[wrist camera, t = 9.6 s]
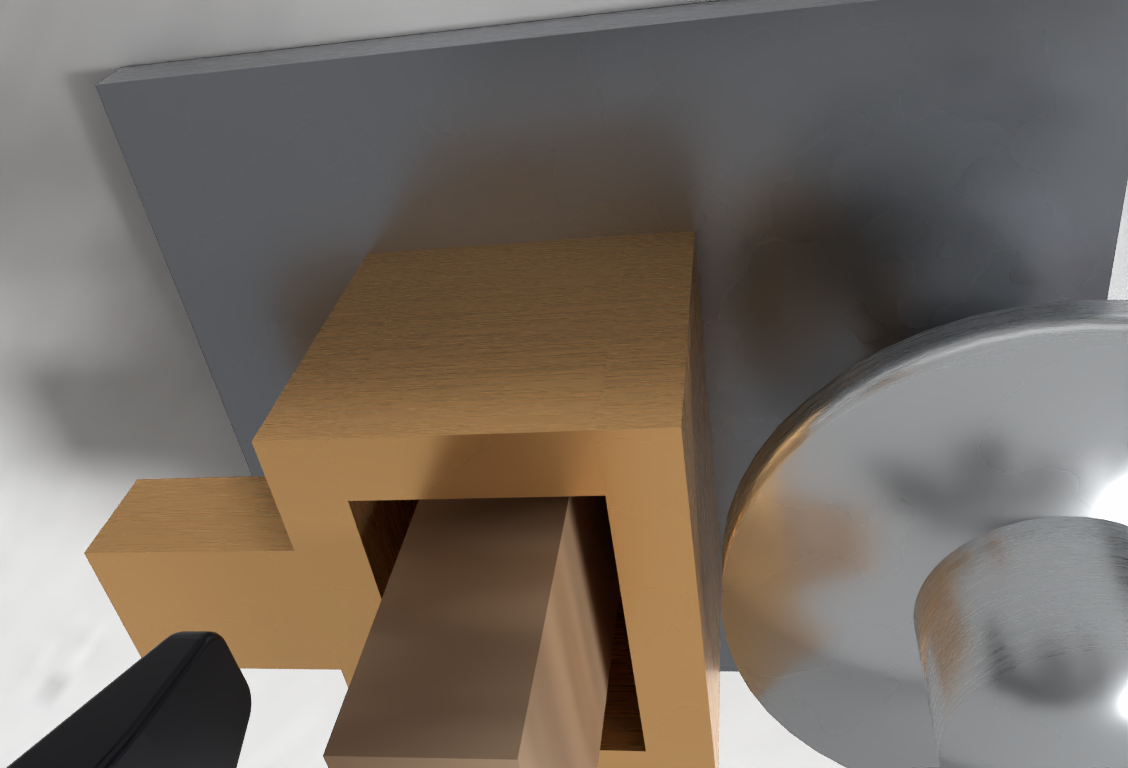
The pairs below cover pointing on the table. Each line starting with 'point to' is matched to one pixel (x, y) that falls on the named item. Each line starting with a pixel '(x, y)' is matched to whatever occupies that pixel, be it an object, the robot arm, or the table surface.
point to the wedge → (488, 640)
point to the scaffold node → (674, 354)
